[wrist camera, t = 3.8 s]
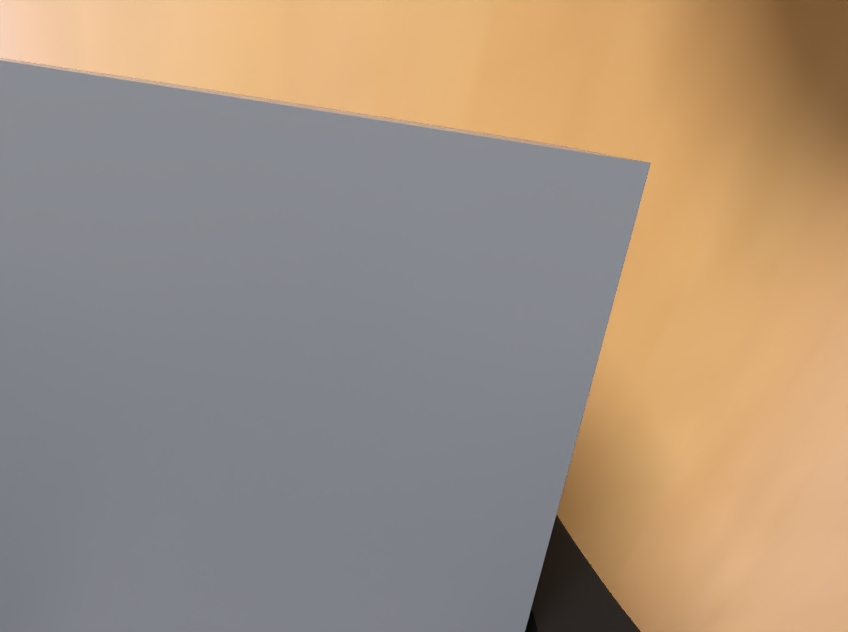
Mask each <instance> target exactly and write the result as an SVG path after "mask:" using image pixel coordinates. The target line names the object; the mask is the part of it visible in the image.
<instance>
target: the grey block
mask: <svg viewBox="0 0 848 632" xmlns="http://www.w3.org/2000/svg"><path fill="white" fill-rule="evenodd" d="M650 164H651V163H648V162H642V161H637V160H632V159H627V158H621V157H616V156H611V155H606V154H600V153H595V152H590V151H585V150H579V149H574V148H569V147H564V146H558V145H553V144H548V143H543V142H537V141H530V140H524V139H518V138H511V137H505V136H499V135H492V134H486V133H480V132H473V131H467V130H461V129H454V128H448V127H442V126H435V125H429V124H423V123H416V122H410V121H404V120H397V119H391V118H385V117H378V116H372V115H366V114H359V113H353V112H347V111H340V110H334V109H328V108H321V107H315V106H309V105H302V104H296V103H290V102H283V101H277V100H271V99H264V98H258V97H252V96H245V95H239V94H233V93H226V92H220V91H214V90H207V89H201V88H195V87H188V86H182V85H175V84H169V83H162V82H156V81H149V80H142V79H136V78H129V77H122V76H116V75H109V74H102V73H96V72H89V71H83V70H76V69H69V68H63V67H56V66H49V65H43V64H36V63H29V62H23V61H16V60H10V59H3V58H0V632H525V630H526V626H527V622H528V618H529V615H530V611H531V607H532V603H533V600H534V596H535V592H536V589H537V585H538V581H539V577H540V574H541V570H542V566H543V562H544V559H545V555H546V551H547V548H548V544H549V540H550V536H551V533H552V529H553V525H554V521H555V518H556V514H557V510H558V507H559V503H560V499H561V495H562V492H563V488H564V484H565V480H566V477H567V473H568V469H569V466H570V462H571V458H572V454H573V451H574V447H575V443H576V439H577V436H578V432H579V428H580V425H581V421H582V417H583V413H584V410H585V406H586V402H587V398H588V395H589V391H590V387H591V384H592V380H593V376H594V372H595V369H596V365H597V361H598V357H599V354H600V350H601V346H602V343H603V339H604V335H605V331H606V328H607V324H608V320H609V316H610V313H611V309H612V305H613V302H614V298H615V294H616V290H617V287H618V283H619V279H620V275H621V272H622V268H623V264H624V261H625V257H626V253H627V249H628V246H629V242H630V238H631V234H632V231H633V227H634V223H635V220H636V216H637V212H638V208H639V205H640V201H641V197H642V193H643V190H644V186H645V182H646V179H647V175H648V171H649V167H650Z"/></svg>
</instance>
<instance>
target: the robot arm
mask: <svg viewBox="0 0 848 632" xmlns="http://www.w3.org/2000/svg"><path fill="white" fill-rule="evenodd" d="M525 632H641V631H640V630H639V629H638V628H637V626H636V625H635V624H634V623H633V621H632V620H631V619H630V618H629V616H628V615H627V614H626V613H625V611H624V610H623V609H622V608H621V606H620V605H619V604H618V602H617V601H616V600H615V598H614V597H613V596H612V594H611V593H610V592H609V590H608V589H607V588H606V586H605V585H604V583H603V582H602V581H601V579H600V578H599V576H598V575H597V574H596V572H595V571H594V569H593V568H592V567H591V565H590V564H589V562H588V561H587V560H586V558H585V557H584V555H583V554H582V552H581V551H580V549H579V548H578V546H577V545H576V544H575V542H574V541H573V539H572V538H571V536H570V535H569V533H568V531H567V530H566V528H565V527H564V525H563V524H562V522H561V521H560V519H559V518H558V516H557V515H556V518H555V521H554V525H553V529H552V533H551V536H550V540H549V544H548V548H547V551H546V555H545V559H544V562H543V566H542V570H541V574H540V577H539V581H538V585H537V589H536V592H535V596H534V600H533V603H532V607H531V611H530V615H529V618H528V622H527V626H526V630H525Z"/></svg>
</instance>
